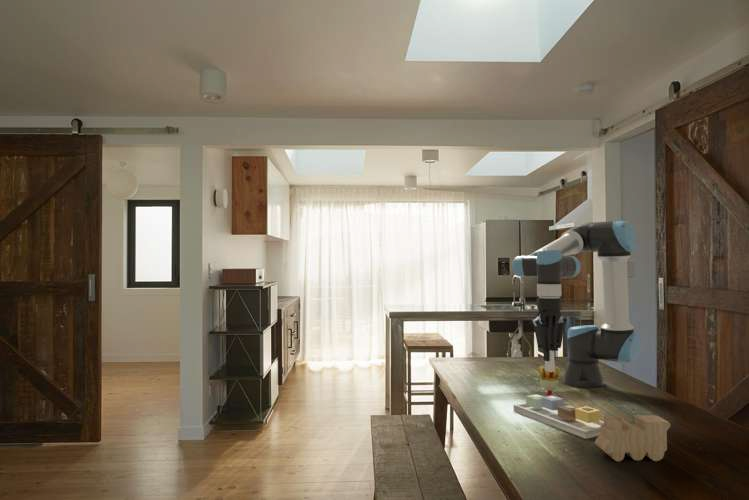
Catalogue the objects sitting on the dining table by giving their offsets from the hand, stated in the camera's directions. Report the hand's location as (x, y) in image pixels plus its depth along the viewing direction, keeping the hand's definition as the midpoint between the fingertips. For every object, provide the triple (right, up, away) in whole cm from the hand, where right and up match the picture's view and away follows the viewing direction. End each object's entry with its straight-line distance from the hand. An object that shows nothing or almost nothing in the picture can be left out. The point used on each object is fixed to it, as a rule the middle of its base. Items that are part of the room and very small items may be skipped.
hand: (549, 370), depth 168 cm
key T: (+4, -13, -7) cm, 15 cm away
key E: (-2, -13, +6) cm, 15 cm away
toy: (+6, -15, +18) cm, 24 cm away
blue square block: (+1, -12, 0) cm, 12 cm away
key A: (+7, -12, -13) cm, 19 cm away
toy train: (+10, -15, -33) cm, 38 cm away
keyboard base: (+2, -15, -3) cm, 16 cm away
